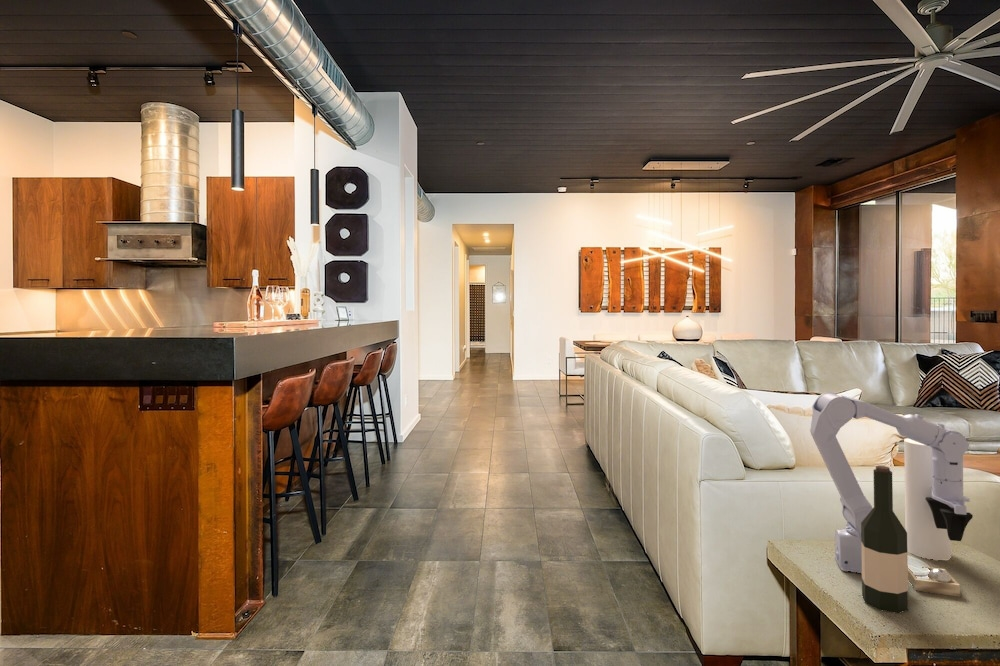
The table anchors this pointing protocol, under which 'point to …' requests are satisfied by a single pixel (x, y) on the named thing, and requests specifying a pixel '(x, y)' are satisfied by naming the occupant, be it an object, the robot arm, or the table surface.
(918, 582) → the tray
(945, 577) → the ball
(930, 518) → the paper towel roll
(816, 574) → the table surface
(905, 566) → the wine bottle
